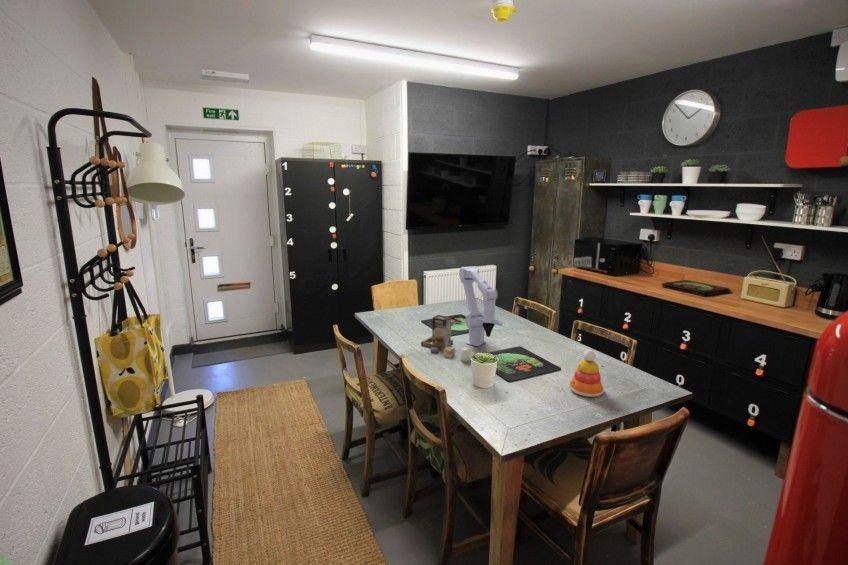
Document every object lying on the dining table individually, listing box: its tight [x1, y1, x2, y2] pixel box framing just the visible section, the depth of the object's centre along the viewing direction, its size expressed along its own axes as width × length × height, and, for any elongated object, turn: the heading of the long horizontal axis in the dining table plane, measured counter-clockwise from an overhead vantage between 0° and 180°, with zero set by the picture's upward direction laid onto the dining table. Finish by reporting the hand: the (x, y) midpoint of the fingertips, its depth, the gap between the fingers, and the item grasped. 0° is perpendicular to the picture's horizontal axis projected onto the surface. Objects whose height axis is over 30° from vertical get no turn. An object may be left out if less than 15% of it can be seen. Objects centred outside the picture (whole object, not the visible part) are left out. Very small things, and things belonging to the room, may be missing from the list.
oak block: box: [443, 345, 455, 358], centre depth 217 cm, size 4×4×4 cm
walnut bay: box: [420, 335, 454, 351], centre depth 232 cm, size 12×13×2 cm
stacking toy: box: [568, 349, 605, 398], centre depth 178 cm, size 14×14×20 cm
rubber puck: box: [430, 347, 439, 354], centre depth 222 cm, size 4×4×2 cm
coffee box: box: [431, 314, 452, 349], centre depth 230 cm, size 9×6×16 cm
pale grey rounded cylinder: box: [460, 346, 472, 363], centre depth 211 cm, size 5×5×6 cm
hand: (488, 336), depth 219 cm, fingers closed
